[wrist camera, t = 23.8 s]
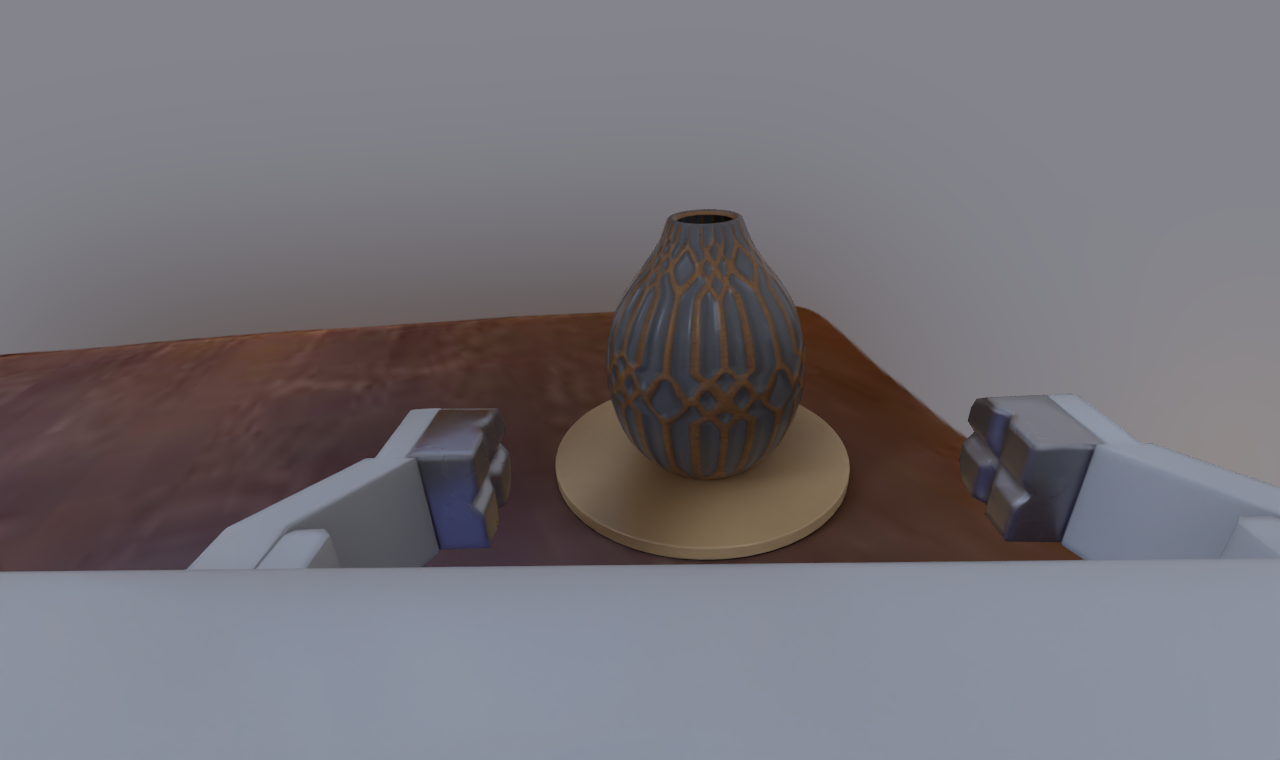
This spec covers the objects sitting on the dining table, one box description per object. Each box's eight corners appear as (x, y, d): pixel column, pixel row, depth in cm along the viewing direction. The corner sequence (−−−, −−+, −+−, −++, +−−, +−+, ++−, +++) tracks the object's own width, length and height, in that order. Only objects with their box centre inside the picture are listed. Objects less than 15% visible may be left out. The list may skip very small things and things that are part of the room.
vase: (611, 411, 26) (595, 202, 22) (770, 399, 26) (782, 191, 22) (615, 515, 20) (594, 251, 16) (823, 499, 20) (853, 235, 16)
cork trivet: (510, 539, 20) (508, 528, 19) (599, 385, 29) (598, 376, 29) (866, 580, 17) (868, 567, 17) (836, 399, 27) (837, 389, 27)
